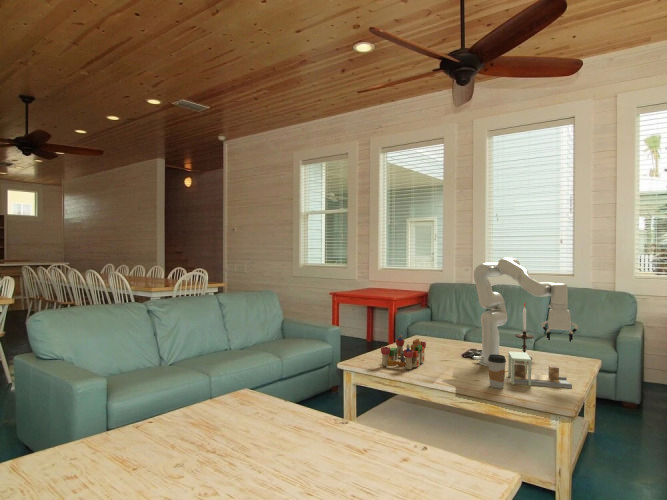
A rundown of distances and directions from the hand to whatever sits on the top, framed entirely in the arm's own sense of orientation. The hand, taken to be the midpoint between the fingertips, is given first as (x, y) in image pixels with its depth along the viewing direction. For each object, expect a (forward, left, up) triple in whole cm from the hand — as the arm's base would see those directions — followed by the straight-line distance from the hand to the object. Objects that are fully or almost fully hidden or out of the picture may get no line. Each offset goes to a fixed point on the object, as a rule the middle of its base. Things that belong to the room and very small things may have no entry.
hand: (559, 340), depth 221 cm
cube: (-20, -6, -18) cm, 28 cm away
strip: (-12, -6, -20) cm, 24 cm away
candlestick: (-11, +43, -21) cm, 49 cm away
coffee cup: (-32, -19, -21) cm, 43 cm away
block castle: (-81, +14, -21) cm, 85 cm away
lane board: (-10, -6, -21) cm, 24 cm away
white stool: (-20, -6, -21) cm, 29 cm away
